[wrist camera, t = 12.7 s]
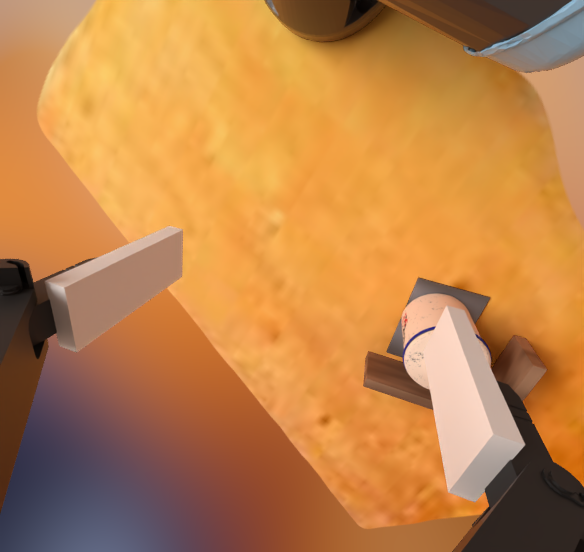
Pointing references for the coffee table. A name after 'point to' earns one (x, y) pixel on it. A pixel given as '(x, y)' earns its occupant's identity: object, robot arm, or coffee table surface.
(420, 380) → the teacup with lid
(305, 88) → the coffee table surface
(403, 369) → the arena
